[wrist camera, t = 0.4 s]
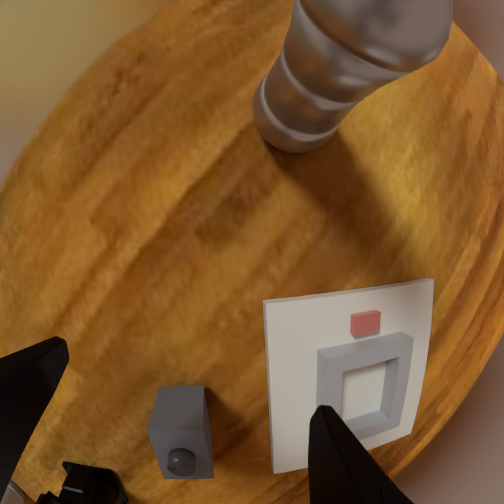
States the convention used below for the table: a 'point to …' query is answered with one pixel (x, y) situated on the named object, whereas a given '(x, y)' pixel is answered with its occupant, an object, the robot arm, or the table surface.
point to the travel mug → (13, 495)
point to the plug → (182, 433)
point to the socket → (346, 363)
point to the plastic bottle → (343, 63)
